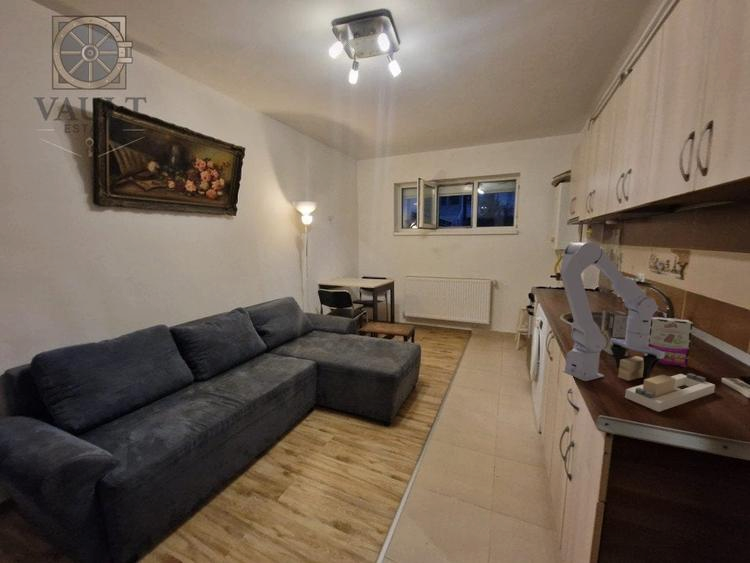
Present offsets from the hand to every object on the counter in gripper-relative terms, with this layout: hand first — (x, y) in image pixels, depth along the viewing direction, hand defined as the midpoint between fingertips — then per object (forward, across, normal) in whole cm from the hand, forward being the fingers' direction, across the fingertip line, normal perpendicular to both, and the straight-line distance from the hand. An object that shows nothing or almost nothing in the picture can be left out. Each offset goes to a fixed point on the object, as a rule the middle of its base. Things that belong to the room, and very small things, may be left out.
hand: (632, 371), depth 103 cm
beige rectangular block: (+2, 0, 0) cm, 2 cm away
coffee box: (+2, +17, -19) cm, 26 cm away
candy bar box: (+2, +3, -25) cm, 25 cm away
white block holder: (+2, -12, +4) cm, 12 cm away
